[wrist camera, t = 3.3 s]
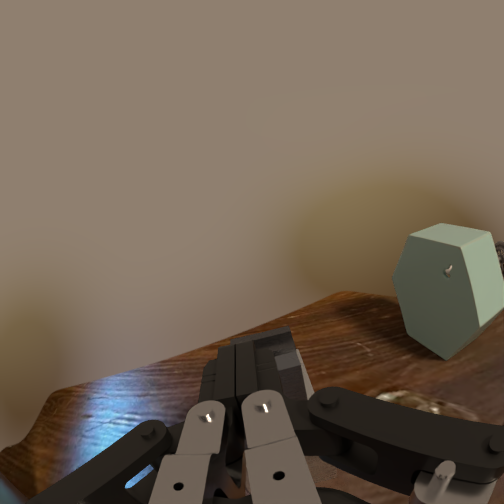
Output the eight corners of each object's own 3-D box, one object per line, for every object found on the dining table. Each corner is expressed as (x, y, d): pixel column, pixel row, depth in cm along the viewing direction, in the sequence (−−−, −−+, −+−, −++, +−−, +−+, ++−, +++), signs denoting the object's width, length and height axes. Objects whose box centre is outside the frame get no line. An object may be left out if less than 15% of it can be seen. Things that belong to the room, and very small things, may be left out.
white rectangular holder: (336, 476, 22) (331, 422, 19) (251, 495, 22) (221, 445, 19) (304, 380, 39) (293, 324, 37) (244, 394, 39) (226, 340, 37)
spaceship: (432, 252, 52) (451, 247, 44) (527, 237, 48) (546, 232, 40) (437, 290, 51) (456, 289, 43) (531, 267, 47) (550, 264, 39)
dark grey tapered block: (316, 446, 21) (300, 364, 19) (250, 460, 21) (215, 383, 19) (295, 377, 31) (279, 303, 29) (245, 389, 31) (221, 317, 29)
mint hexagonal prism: (460, 353, 37) (529, 277, 22) (430, 374, 36) (503, 300, 21) (413, 283, 49) (452, 194, 34) (382, 296, 48) (418, 203, 33)
